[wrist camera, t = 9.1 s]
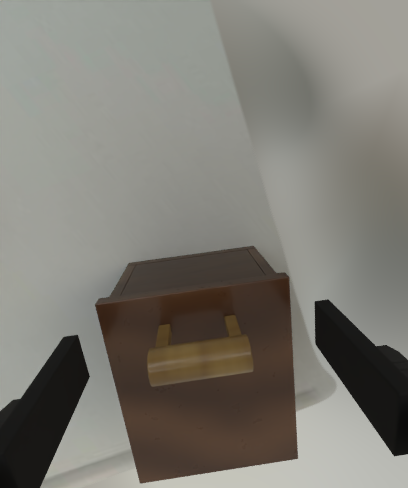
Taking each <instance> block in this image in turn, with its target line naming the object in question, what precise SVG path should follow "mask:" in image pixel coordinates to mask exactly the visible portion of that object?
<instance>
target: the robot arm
mask: <svg viewBox="0 0 408 488" xmlns="http://www.w3.org/2000/svg"><path fill="white" fill-rule="evenodd" d="M315 339H316V340H315V342H316V345H317V347H318V348H319V350H320V351H321V353H322V354H323V355H324V357H325V358H326V360H327V361H328V362H329V364H330V365H331V367H332V368H333V370H334V371H335V372H336V374H337V375H338V377H339V378H340V380H341V381H342V382H343V384H344V385H345V387H346V388H347V390H348V391H349V392H350V394H351V395H352V397H353V398H354V400H355V401H356V402H357V404H358V405H359V407H360V408H361V409H362V411H363V412H364V414H365V415H366V417H367V418H368V419H369V421H370V422H371V424H372V425H373V427H374V428H375V429H376V431H377V432H378V434H379V435H380V437H381V438H382V440H383V441H384V442H385V444H386V445H387V447H388V448H389V450H390V451H391V452H392V454H393V455H394V456H399V455H405V454H408V360H407V359H406V358H405V357H404V356H403V355H402V354H400V352H398V351H396V350H394V349H393V348H391V347H389V346H387V345H383V346H375V345H374V344H373V343H372V342H371V341H370V340H369V339H368V338H367V337H366V336H365V335H364V334H363V333H362V332H361V331H360V330H359V329H358V328H357V327H356V326H355V325H354V324H353V323H352V322H351V321H350V320H349V319H348V318H346V316H345V315H344V314H342V312H340V311H339V310H338V309H337V308H336V307H335V306H334V305H333V304H332V303H331V302H330V301H329V300H322V301H315ZM89 377H90V376H89V372H88V369H87V365H86V362H85V358H84V355H83V351H82V348H81V344H80V341H79V338H78V335H74V336H67V337H63V339H62V340H61V342H60V343H59V344H58V346H57V347H56V349H55V350H54V352H53V353H52V355H51V356H50V357H49V359H48V360H47V362H46V363H45V365H44V366H43V367H42V369H41V370H40V372H39V373H38V375H37V376H36V377H35V379H34V380H33V382H32V383H31V385H30V386H29V388H28V389H27V390H26V392H25V393H24V395H23V396H22V398H21V399H17V400H13V401H11V402H10V403H9V404H8V405H7V406H6V407H5V408H3V409H2V410H1V411H0V488H40V486H41V484H42V482H43V480H44V477H45V475H46V473H47V471H48V469H49V466H50V464H51V462H52V460H53V457H54V455H55V453H56V451H57V448H58V446H59V444H60V442H61V440H62V437H63V435H64V433H65V431H66V428H67V426H68V424H69V422H70V419H71V417H72V415H73V413H74V411H75V408H76V406H77V404H78V402H79V399H80V397H81V395H82V393H83V390H84V388H85V386H86V384H87V382H88V379H89Z"/></svg>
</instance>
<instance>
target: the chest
mask: <svg viewBox="0 0 408 488" xmlns="http://www.w3.org/2000/svg"><path fill="white" fill-rule="evenodd" d="M270 274H277V273H276V272H275V271H274V270H273V269H272V267H271V266H270V265H269V264H268V263H267V261H266V260H265V259H264V258H263V257H262V255H261V254H260V253H259V252H258V251H257V249H256V248H255V247H254V246H250V247H243V248H235V249H228V250H221V251H214V252H206V253H199V254H192V255H185V256H177V257H170V258H163V259H156V260H148V261H141V262H134V263H129V264H128V266H127V267H126V269H125V271H124V273H123V274H122V276H121V278H120V280H119V281H118V283H117V285H116V286H115V288H114V290H113V292H112V293H111V295H110V297H114V296H121V295H128V294H135V293H142V292H149V291H157V290H164V289H171V288H178V287H185V286H192V285H199V284H206V283H213V282H220V281H228V280H235V279H242V278H249V277H256V276H263V275H270Z"/></svg>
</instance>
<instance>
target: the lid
mask: <svg viewBox="0 0 408 488" xmlns="http://www.w3.org/2000/svg"><path fill="white" fill-rule="evenodd" d="M95 306H96V310H97V314H98V318H99V322H100V326H101V330H102V334H103V338H104V342H105V346H106V350H107V354H108V358H109V362H110V366H111V370H112V374H113V378H114V382H115V386H116V390H117V394H118V398H119V402H120V406H121V410H122V413H123V417H124V421H125V425H126V429H127V433H128V437H129V441H130V445H131V449H132V453H133V457H134V461H135V465H136V469H137V473H138V477H139V481H140V483H146V482H153V481H159V480H166V479H172V478H178V477H185V476H190V475H197V474H203V473H210V472H216V471H223V470H229V469H235V468H242V467H248V466H255V465H261V464H267V463H274V462H280V461H286V460H293V459H298V451H297V432H296V410H295V389H294V368H293V348H292V327H291V307H290V286H289V277H288V275H287V274H286V273H277V274H270V275H263V276H256V277H249V278H242V279H235V280H228V281H220V282H213V283H206V284H199V285H192V286H185V287H178V288H171V289H164V290H157V291H149V292H142V293H135V294H128V295H121V296H114V297H107V298H100V299H98V301H97V302H96V304H95Z"/></svg>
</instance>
